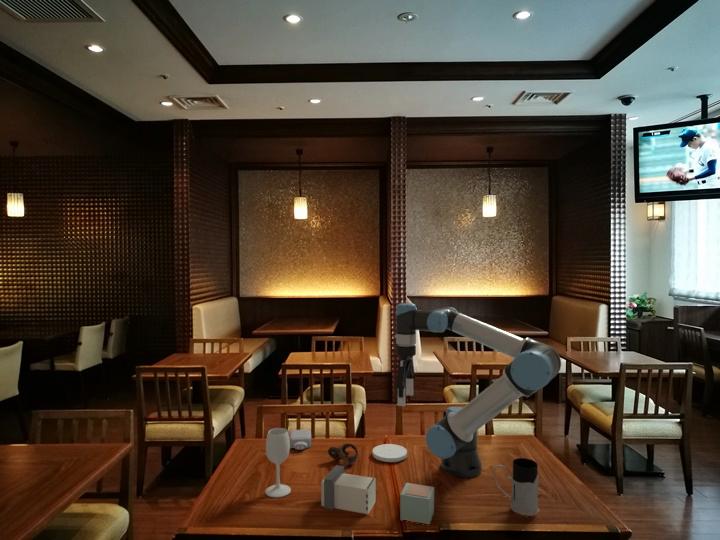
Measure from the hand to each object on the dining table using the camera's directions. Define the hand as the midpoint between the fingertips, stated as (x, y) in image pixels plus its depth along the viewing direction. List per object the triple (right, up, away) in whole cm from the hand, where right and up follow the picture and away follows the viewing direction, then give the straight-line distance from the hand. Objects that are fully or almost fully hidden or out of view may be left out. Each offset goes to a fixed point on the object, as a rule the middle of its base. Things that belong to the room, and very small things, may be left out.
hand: (405, 400), depth 178 cm
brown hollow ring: (-24, -27, +8) cm, 37 cm away
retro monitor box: (+1, -28, -31) cm, 41 cm away
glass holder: (+33, -28, -26) cm, 50 cm away
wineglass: (-46, -27, -15) cm, 55 cm away
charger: (-43, -26, +23) cm, 55 cm away
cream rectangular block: (-21, -28, -24) cm, 42 cm away
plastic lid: (-5, -27, +13) cm, 30 cm away
